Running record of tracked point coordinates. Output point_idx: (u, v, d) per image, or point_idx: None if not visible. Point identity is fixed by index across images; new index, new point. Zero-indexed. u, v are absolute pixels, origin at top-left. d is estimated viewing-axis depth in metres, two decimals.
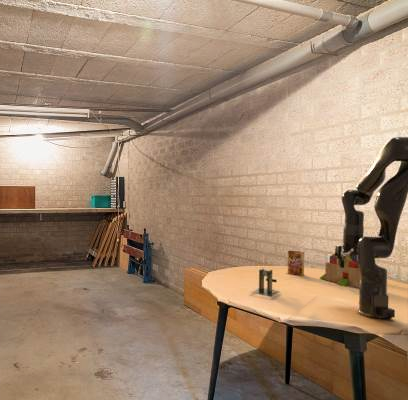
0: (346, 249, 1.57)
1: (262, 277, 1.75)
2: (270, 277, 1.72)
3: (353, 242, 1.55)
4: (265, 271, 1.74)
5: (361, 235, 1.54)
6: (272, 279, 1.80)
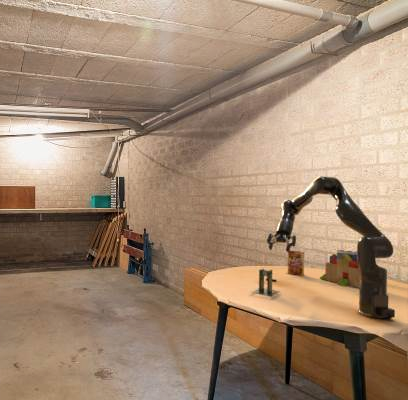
0: (275, 236, 1.96)
1: (262, 277, 1.75)
2: (270, 277, 1.72)
3: (278, 228, 1.95)
4: (265, 271, 1.74)
5: (286, 224, 1.95)
6: (272, 279, 1.80)
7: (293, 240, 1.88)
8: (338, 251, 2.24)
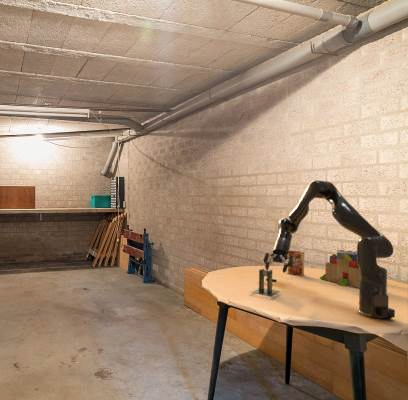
0: (272, 255, 1.91)
1: (262, 277, 1.75)
2: (270, 277, 1.72)
3: (275, 248, 1.91)
4: (265, 271, 1.74)
5: (283, 244, 1.91)
6: (272, 279, 1.80)
7: (290, 260, 1.84)
8: (338, 251, 2.24)
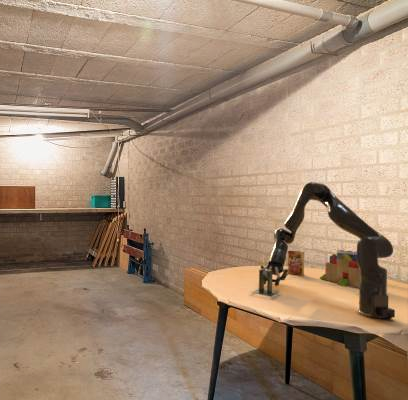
0: (267, 267, 1.86)
1: (262, 277, 1.75)
2: (270, 277, 1.72)
3: (271, 260, 1.86)
4: (265, 271, 1.74)
5: (278, 255, 1.85)
6: (272, 279, 1.80)
7: (283, 274, 1.79)
8: (338, 251, 2.24)
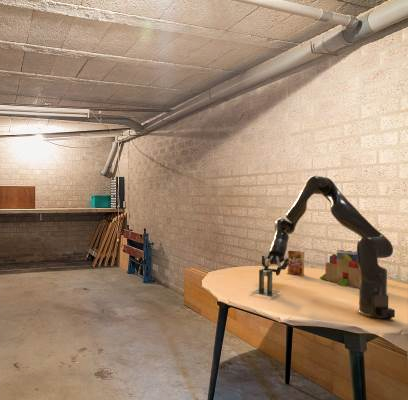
0: (268, 257, 1.87)
1: (262, 277, 1.75)
2: (270, 277, 1.72)
3: (271, 249, 1.87)
4: (265, 272, 1.73)
5: (279, 245, 1.86)
6: (273, 270, 1.81)
7: (284, 263, 1.79)
8: (338, 251, 2.24)
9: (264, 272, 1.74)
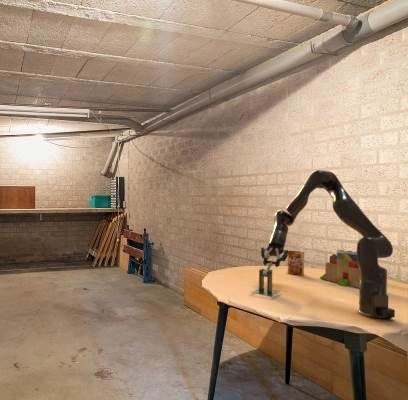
0: (267, 249, 1.86)
1: (262, 277, 1.75)
2: (270, 277, 1.72)
3: (271, 241, 1.86)
4: (265, 274, 1.73)
5: (278, 237, 1.85)
6: (272, 262, 1.80)
7: (284, 255, 1.79)
8: (338, 251, 2.24)
9: (264, 273, 1.73)
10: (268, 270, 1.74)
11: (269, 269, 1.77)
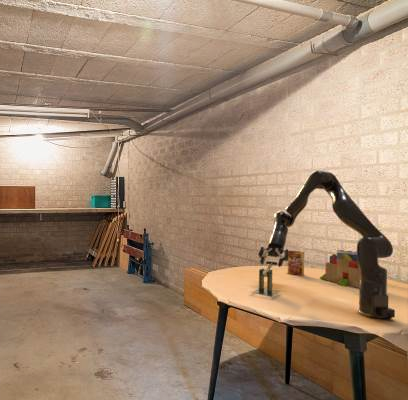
0: (267, 249, 1.86)
1: (262, 277, 1.75)
2: (270, 277, 1.72)
3: (271, 242, 1.86)
4: (265, 274, 1.73)
5: (278, 237, 1.85)
6: (272, 263, 1.80)
7: (286, 254, 1.78)
8: (338, 251, 2.24)
9: (264, 273, 1.73)
10: (268, 270, 1.74)
11: (269, 269, 1.77)
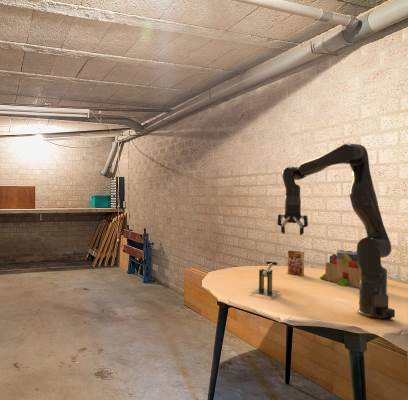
0: (285, 217, 1.85)
1: (262, 277, 1.75)
2: (270, 277, 1.72)
3: (286, 210, 1.83)
4: (265, 274, 1.73)
5: (293, 204, 1.80)
6: (272, 263, 1.80)
7: (305, 222, 1.78)
8: (338, 251, 2.24)
9: (264, 273, 1.73)
10: (268, 270, 1.74)
11: (269, 269, 1.77)
